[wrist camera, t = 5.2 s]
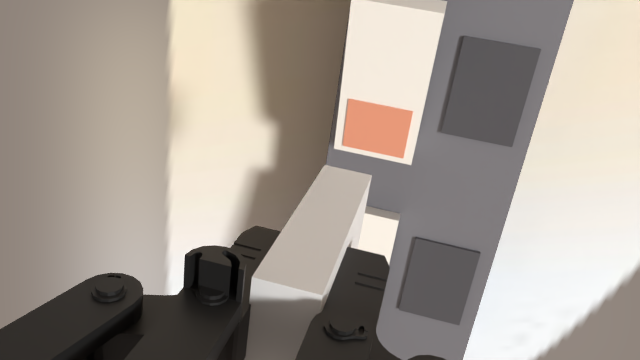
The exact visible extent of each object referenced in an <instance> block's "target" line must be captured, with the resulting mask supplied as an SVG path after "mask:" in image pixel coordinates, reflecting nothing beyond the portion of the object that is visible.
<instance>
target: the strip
mask: <svg viewBox="0 0 640 360" xmlns="http://www.w3.org/2000/svg"><path fill="white" fill-rule="evenodd" d="M442 1H447V5H446V10H445V14H444V19H443V24H442V28H441V33H440V37H439V42H438V46H437V51H436V55H435V60H434V65H433V69H432V74H431V78H430V83H429V87H428V92H427V96H426V101H425V106H424V110H423V115H422V119H421V124H420V128H419V133H418V137H417V142H416V146H415V151H414V155H413V159H412V164H411V165H408V164H403V163H399V162H394V161H389V160H385V159H380V158H376V157H371V156H366V155H362V154H357V153H352V152H348V151H343V150H338V149H334V144H335V135H336V127H337V118H338V109H339V101H340V92H341V83H342V75H343V66H344V57H345V49H346V40H347V32H348V25H347V31H346V38H345V44H344V51H343V57H342V64H341V70H340V77H339V83H338V90H337V96H336V103H335V109H334V115H333V122H332V128H331V135H330V141H329V148H328V154H327V161H326V165H328V166H332V167H337V168H341V169H346V170H350V171H355V172H360V173H364V174H369V175H372V177H371V182H370V187H369V193H368V198H367V203H366V206H369V207H373V208H378V209H382V210H387V211H391V212H395V213H400V219H399V223H398V228H397V232H396V237H395V241H394V245H393V250H392V254H391V259H390V263H389V267H390V270H389V275H388V279H387V284H386V288H385V293H384V297H383V302H382V306H381V311H380V315H379V319H378V324H377V328H376V334H377V337H378V340H379V341H380V343H381V344H382V345H383V347H385V348H386V349H387V350H388V351H389V352H390V353H392V354H393V355H395V356H396V357H398V358H400V359H401V360H408V359H410V358H412V357H414V356H417V355H433V356H437V357H441V358H444V359H446V360H463V357H464V353H465V350H466V347H467V344H468V340H469V337H470V334H471V331H472V327H473V324H474V321H475V318H476V315H477V311H478V308H479V305H480V302H481V298H482V295H483V292H484V289H485V285H486V282H487V279H488V276H489V272H490V269H491V266H492V263H493V260H494V256H495V253H496V250H497V247H498V243H499V240H500V237H501V234H502V230H503V227H504V224H505V221H506V218H507V214H508V211H509V208H510V205H511V201H512V198H513V195H514V192H515V188H516V185H517V182H518V179H519V175H520V172H521V169H522V166H523V163H524V159H525V156H526V153H527V150H528V146H529V143H530V140H531V137H532V133H533V130H534V127H535V124H536V120H537V117H538V114H539V111H540V108H541V104H542V101H543V98H544V95H545V91H546V88H547V85H548V82H549V78H550V75H551V72H552V69H553V65H554V62H555V59H556V56H557V53H558V49H559V46H560V43H561V40H562V36H563V33H564V30H565V27H566V23H567V20H568V17H569V14H570V10H571V7H572V4H573V1H574V0H442ZM350 6H351V5H350ZM349 14H350V12H349ZM348 23H349V18H348Z"/></svg>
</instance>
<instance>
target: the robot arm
mask: <svg viewBox="0 0 640 360" xmlns="http://www.w3.org/2000/svg"><path fill="white" fill-rule="evenodd" d="M371 177H372V175H369V174H364V173H360V172H355V171H350V170H346V169H341V168H337V167H332V166H328V165H324V166H323V168H322V170H321V171H320V173H319V174H318V176H317V177H316V179H315V180H314V182H313V183H312V185H311V186H310V188H309V190H308V191H307V193H306V194H305V196H304V197H303V199H302V200H301V202H300V203H299V205H298V207H297V208H296V210H295V211H294V213H293V214H292V216H291V217H290V219H289V220H288V222H287V223H286V225H285V227H284V228H283V230H282V231H281V232H280V231H276V230H272V229H267V228H263V227H259V226H255V227H253V228H251V229H249V230H247V231H245V232H243V233H241V235H240V236H239V237H238V239H237V240H236V241H235V242H234V245H232V246H231V248H227V247H222V246H202V247H199V248H196V249H193V250H191V251H190V252H188V253H187V254H186V255H185V265H184V287H183V289H182V290H181V291H180V292H179V293H178V295H165V296H163V295H143V288H142V285H141V283H140V282H139V281H138V280H137V279H136V278H134V277H132V276H129V275H126V274H122V273H107V274H102V275H97V276H94V277H92V278H90V279H87V280H85V281H84V282H82V283H80V284H78V285H76V286H75V287H73V288H71V289H69V290H68V291H66V292H64V293H63V294H61V295H59V296H57V297H56V298H54V299H52V300H50V301H49V302H47V303H45V304H43V305H42V306H40V307H38V308H36V309H35V310H33V311H31V312H29V313H28V314H26V315H24V316H23V317H21V318H19V319H17V320H16V321H14V322H12V323H10V324H8V325H7V326H5V327H3V328H2V329H0V360H401V359H400V358H398V357H396V356H395V355H393V354H392V353H390V352H389V351H388V350H387V349H386V348H385V347H383V345H382V344H381V343H380V341H379V340H378V337H377V334H376V328H377V324H378V319H379V315H380V311H381V306H382V302H383V297H384V293H385V288H386V284H387V279H388V275H389V270H390V267H389V264H388V262H387V260H386V258H385V256H384V255H380V254H376V253H372V252H368V251H364V250H359V249H358V245H359V240H360V234H361V229H362V224H363V219H364V214H365V208H366V203H367V198H368V193H369V187H370V182H371ZM408 360H446V359H444V358H441V357H437V356H433V355H417V356H414V357H412V358H410V359H408Z"/></svg>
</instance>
